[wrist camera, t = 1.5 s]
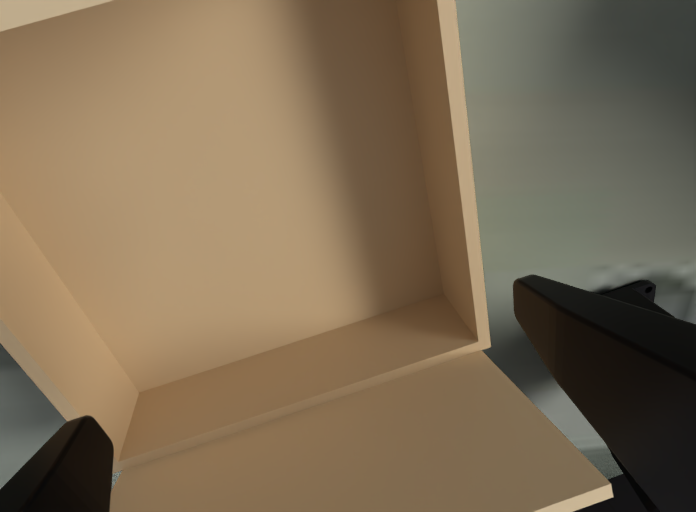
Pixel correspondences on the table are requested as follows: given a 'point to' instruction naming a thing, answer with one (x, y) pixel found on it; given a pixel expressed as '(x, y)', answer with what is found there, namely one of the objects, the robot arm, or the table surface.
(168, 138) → the carton
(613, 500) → the product box
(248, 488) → the flap
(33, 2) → the flap
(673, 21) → the table surface
